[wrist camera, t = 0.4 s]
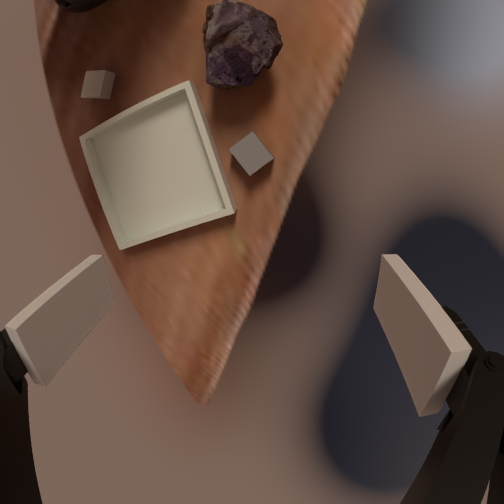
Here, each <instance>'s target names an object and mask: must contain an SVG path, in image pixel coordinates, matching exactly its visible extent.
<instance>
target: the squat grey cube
mask: <svg viewBox="0 0 504 504" xmlns="http://www.w3.org/2000/svg"><path fill="white" fill-rule="evenodd" d="M229 151H230V152H231V153H232V154H233V156H234V157H235V158H236V159H237V161H238V162H239V163H240V164H241V166H242V167H243V168H244V169H245V171H246V172H247V173H248V175H249V176H250V175H252V174H253V173H255V172H256V171H257V170H259V169H260V168H261V167H263V166H264V165H265V164H267V163H268V162H269V161H271V160H272V159H274V156H273V155H272V154H271V152H270V151H269V150H268V148H267V147H266V146H265V145H264V143H263V142H262V141H261V139H260V138H259V137H258V136H257V134H256V133H255V132H253V131H252V132H251V133H250V134H248V135H247V136H246V137H244V138H243V139H242V140H240V141H239V142H238V143H236V144H235V145H234V146H232V147H231V148H230V149H229Z"/></svg>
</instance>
